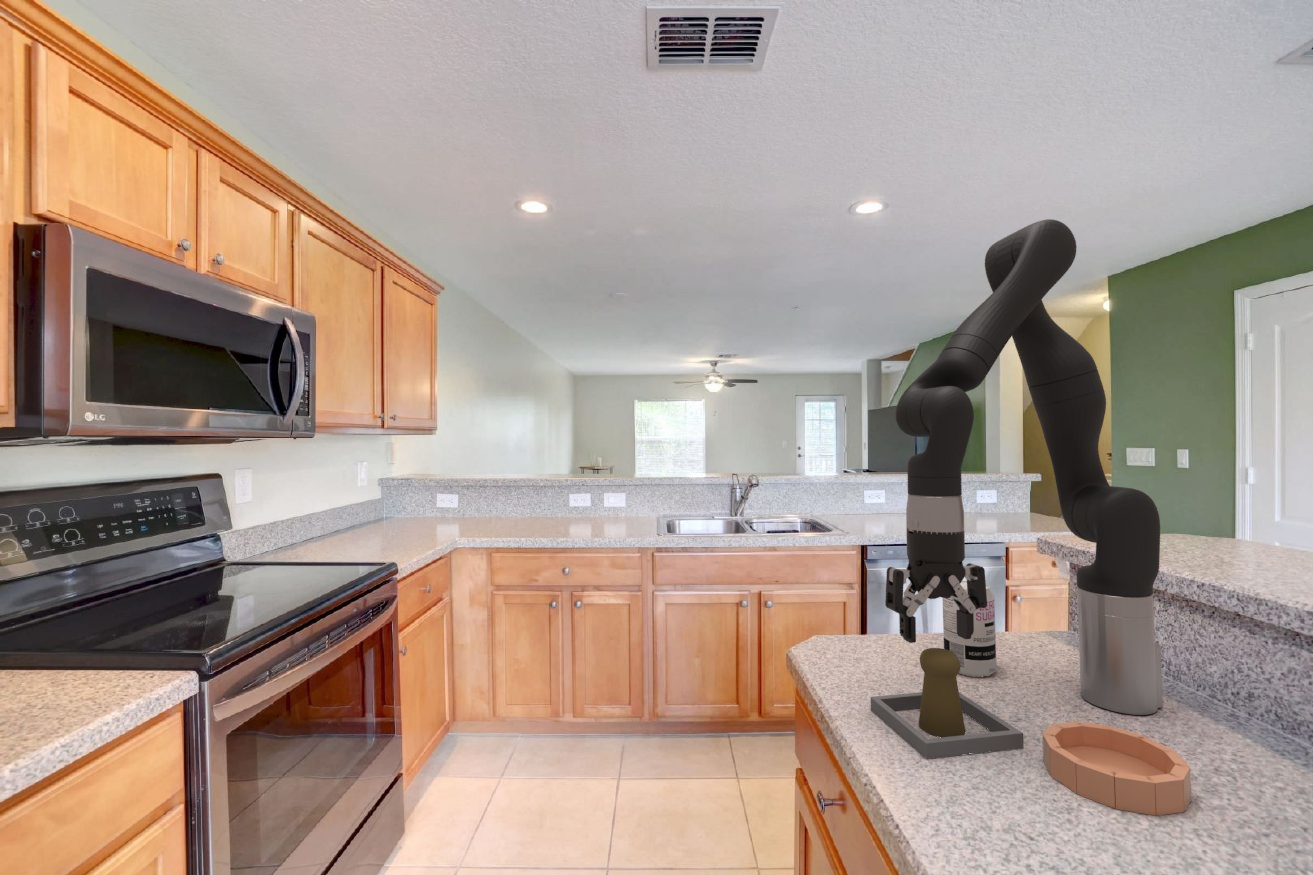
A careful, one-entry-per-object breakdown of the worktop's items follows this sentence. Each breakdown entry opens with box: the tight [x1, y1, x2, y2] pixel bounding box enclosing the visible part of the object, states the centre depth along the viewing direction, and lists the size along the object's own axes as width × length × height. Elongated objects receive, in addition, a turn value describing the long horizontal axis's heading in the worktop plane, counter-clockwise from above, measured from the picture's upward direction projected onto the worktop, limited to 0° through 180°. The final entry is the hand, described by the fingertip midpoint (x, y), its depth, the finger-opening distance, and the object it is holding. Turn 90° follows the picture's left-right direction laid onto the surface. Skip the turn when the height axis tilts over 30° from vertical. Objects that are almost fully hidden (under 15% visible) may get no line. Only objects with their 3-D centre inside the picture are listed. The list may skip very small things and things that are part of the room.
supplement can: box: [941, 580, 998, 678], centre depth 102 cm, size 8×8×15 cm
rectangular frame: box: [870, 691, 1025, 760], centre depth 82 cm, size 14×14×2 cm
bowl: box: [1042, 721, 1192, 817], centre depth 69 cm, size 13×13×4 cm
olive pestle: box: [918, 647, 967, 738], centre depth 82 cm, size 6×6×11 cm
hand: (936, 639), depth 82 cm, fingers open, 8 cm apart
